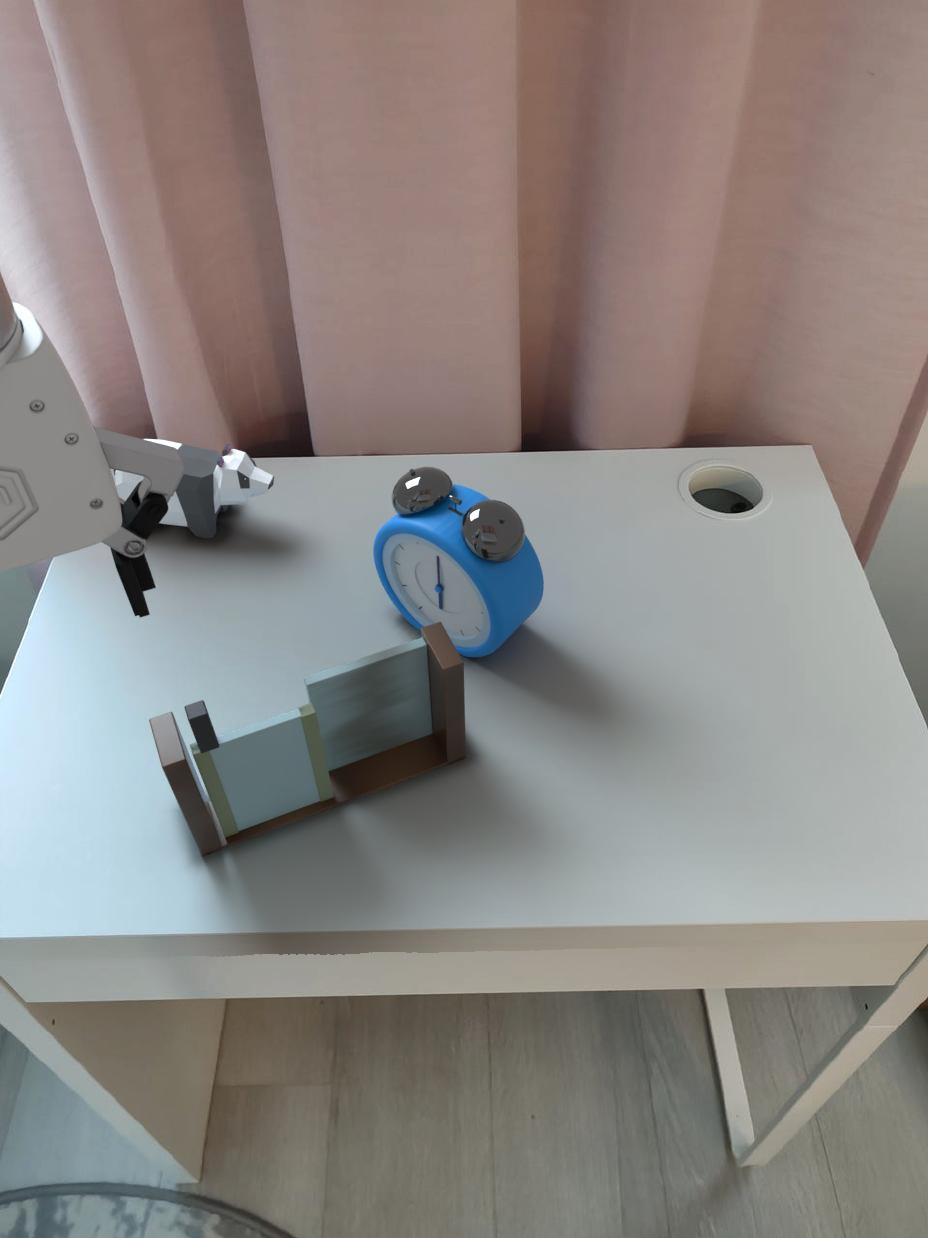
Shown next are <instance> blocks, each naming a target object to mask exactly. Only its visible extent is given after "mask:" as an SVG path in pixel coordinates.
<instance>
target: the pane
mask: <svg viewBox="0 0 928 1238" xmlns="http://www.w3.org/2000/svg"><path fill="white" fill-rule="evenodd" d="M184 711H185V714H186V718H187V722H188V724H189V726H190V729H191V732H192V734H193V737H194V739H195V742H191V743H190V744H189V748H190V752H191V755H192V757H193V759H194V762H195V765H196V768H197V770H198V773H199V775H200V777H201V780H202V783H203V785H204V787H205V790H206V792H207V795H208V797H209V801H210V800H211V803H212V805H213V808H214V810H215V813H216V815H217V818H218V820H219V823H220V825H221V828H222V830H223V833H224V836H225V837H228V836H231V835H234V834H236V833H239V831H241V830H243V829H246V828H249V827H252V826H254V825H257V824H260V823H262V822H265V821H268V820H270V819H273V818H276V817H278V816H281V815H284V814H287V813H289V812H292V811H295V810H297V809H300V808H303V807H305V806H308V805H311V804H313V803H316V802H319V801H321V802H322V801H325V800H328V799H330V798H333V797H334V794H333V790H332V785H331V781H330V776H329V771H328V767H327V762H326V757H325V753H324V748H323V743H322V739H321V734H320V729H319V725H318V720H317V715H316V712H315V709H314V707H313V704H312V703H309V702H308V703H306V704H303V705H301V706H300V705H299V706H297V708H295V709H293V710H289V711H287V712H284V713H281V714H278V715H275V716H272V717H270V718H266V719H263V720H261V721H258V722H254V723H252V724H249V725H245V726H243V727H240V728H238V729H235V730H231V731H228V732H226V733H222V734H220V735H217V734H216V731H215V728H214V726H213V722H212V720H211V717H210V714H209V712H208V709H207V706H206V703H205V701H204V700H203V699H201V700H199V701H195V702H193V703H190V704H187V705H184Z"/></svg>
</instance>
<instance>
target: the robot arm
mask: <svg viewBox="0 0 928 1238" xmlns="http://www.w3.org/2000/svg"><path fill="white" fill-rule="evenodd" d="M144 439H145V438H139V437H135V436H132V435H128V434H124V433H120V432H115V431H112V430H108V429H104V428H100V427H97V426H94V424H93V421H92V418H91V417H90V414H89V411H88V409H87V407H86V405H85V403H84V401H83V399H82V396H81V395H80V392H79V390H78V388H77V386H76V384H75V382H74V380H73V378H72V376H71V374H70V372H69V371H68V369H67V367H66V365H65V362H64V361H63V359H62V358H61V356H60V354H59V352H58V351H57V349H56V347H55V345H54V344H53V342H52V340H51V339H50V337H49V336H48V334H47V332H46V331H45V329H44V328H43V326H42V324H40V321H38V319H37V318H36V316H35V315H34V314H33V312H32V311H31V310H30V309H29V308H27V307H26V306H24V305H22V304H21V303H18V302H13V300H12V298H11V296H10V293H9V291H8V287H7V285H6V282H5V281H4V277H3V275H2V273H1V272H0V574H1V573H4V572H7V571H11V570H14V569H19V568H21V567H24V566H28V565H32V564H36V563H39V562H42V561H46V560H50V559H52V558H56V557H60V556H63V555H67V554H71V553H74V552H77V551H80V550H83V549H86V548H90V547H93V546H95V545H97V544H101V543H102V544H104V545H106V546H107V547H108V548H110V549H109V550H110V552H111V555H112V559H113V562H114V566H115V570H116V571H117V574H118V577H119V579H120V582H121V585H122V587H123V590H124V592H125V595H126V597H127V599H128V603H129V605H130V607H131V609H132V613H133V615H134V617H137V616H138V618H140V619H141V618H144V617H147V616H150V615H151V614H150V610H149V606H148V604H147V601H146V596H145V593H144V592H147V591H150V590H154V589H157V588H156V583H155V580H154V577H153V574H152V571H151V567H150V565H149V563H148V559H147V556H146V554H145V553H146V552H147V550H148V544H147V540H148V539H149V538H150V536H151V535H152V533H153V532H154V531H155V529H156V528H157V527H158V525H159V524H161V523H160V521H161V520H162V519H163V517H164V516H165V514H166V513H167V511H168V502H169V500H170V498H171V496H172V497H173V495H174V493H175V491H176V489H177V487H178V485H179V483H180V481H181V479H182V477H183V475H184V473H185V466H184V464H183V461H182V458H181V456H180V453H179V451H178V450H177V449H176V448H174V447H171V446H167V445H163V444H159V443H155V442H152V441H148V440H144ZM114 469H115V470H119V471H123V472H128V473H132V474H136V475H140V476H143V477H144V479H143V480H142V481H140V482H139V483H138V484H137V486H136V487H135V488H134V490H133V491H132V493H131V494H130V495H129V497H128V498H127V499H126V501H125V500H123V499H121V498H120V497H119V496H118V492H117V489H116V485H115V478H114V475H113V473H112V470H114Z"/></svg>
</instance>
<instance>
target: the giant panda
mask: <svg viewBox="0 0 928 1238" xmlns="http://www.w3.org/2000/svg"><path fill="white" fill-rule="evenodd" d="M143 439H144V440H148V441H152V442H155V443H159V444H163V445H167V446H171V447H174V448H176V449H177V450H178V451H179V453H180V456H181V458H182V461H183V464H184V466H185V473H184V475H183V477H182V479H181V481H180V483H179V485H178V487H177V489H176V491H175V493H174V495H173V497H172V496H171V498H170V500H169V502H168V511H167V513H166V514H165V516H164V517H163V519H162V520H161V521H160V523H159V524H163V525H170V526H178V527H180V526H181V527H187V528H188V529H189V530H190V532H191V533H192V534H193V535H194V536H195V537H198V538H203V539H213V538H214V537H215V535H216V534H217V530H218V527H217V518H218V517H217V516H218V514H219V513H226V511H227V510H229V507H230V505H231V506H232V505H244V504H245V503H246V502H247V501H248V499H250V498H254V497H257V496H261V495H264V494H266V493H268V492H269V490H270V489H271V488H272V487H273V486H274V482H275V476H274V475H273V474H271V473H268V472H267V471H265V470H264V469H261V468H259V467H258V465H257V463H256V462H255V460H254V459H253V458H252V457H251V456H250V455H249V454H248V453H247V452H245V451H242V450H240V449H239V450H238V449H236V448H231V443H226V444H225V445H224V447H223V448H222V453H221V454H220V453H219V452H218V450H217V449H208V448H203V447H199V446H193V445H189V444H185V443H180V442H176V441H175V442H174V441H171V440H166V439H158V438H157V439H155V438H154V439H153V438H143ZM113 476H114V482H115V485H116V489H117V492H118V496H119V497H120V498H121V499H123V500H125V501H126V499H127V498H128V497H129V495H130V494H131V493H132V491H133V490H134V488H135V487H136V486H137V484H138V483H139V482H140V481H142V480H143V479H144V477H143V476H140V475H136V474H132V473H128V472H123V471H119V470H115V469H113Z"/></svg>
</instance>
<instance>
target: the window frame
mask: <svg viewBox="0 0 928 1238" xmlns="http://www.w3.org/2000/svg"><path fill="white" fill-rule="evenodd" d="M303 682H304V687H305V691H306V695H307V700H308V704H309V703H312V704H313V707H314V709H315V712H316V715H317V720H318V725H319V729H320V734H321V739H322V743H323V748H324V753H325V757H326V762H327V767H328V771H329V776H330V781H331V785H332V790H333V794H334V797H333V798H330V799H328V800H325V801H322V802H321V801H319V802H316V803H313V804H311V805H308V806H305V807H303V808H300V809H297V810H295V811H292V812H289V813H287V814H284V815H281V816H278V817H276V818H273V819H270V820H268V821H265V822H262V823H260V824H257V825H254V826H252V827H249V828H246V829H243V830H241V831H239V833H236V834H234V835H231V836H228V837H225V836H224V833H223V830H222V828H221V825H220V823H219V820H218V818H217V815H216V813H215V810H214V808H213V805H212V803H211V800H210V799H209V800H208V797H207V795H206V791H205V790H204V788H203V785H202V783H201V780H200V777H199V775H198V772H197V770H196V768H195V765H194V762H193V760H192V758H191V755H190V753H189V751H188V747H187V745H186V742H185V740H184V737H183V735H182V732H181V730H180V727H179V725H178V723H177V719H176V717H175V715H174V712H173V711H169V712H167V713H163V714H159V715H157V716H154V717H151V718H149V719H148V722H149V726H150V729H151V734H152V737H153V740H154V743H155V747H156V751H157V755H158V759H159V762H160V766H161V769H162V771H163V774H164V776H165V778H166V780H167V783H168V784H169V787H170V790H171V791H172V794H173V795H174V798H175V800H176V802H177V805H178V808H179V809H180V811H181V813H182V817H183V818H184V820H185V822H186V825H187V827H188V829H189V831H190V834H191V836H192V838H193V841H194V843H195V845H196V847H197V849H198V852H199V854H200V856H201V858H203V857H206V856H209V855H211V854H214V853H216V852H219V851H221V850H225V849H227V848H230V847H233V846H236V845H238V844H240V843H243V842H247V841H248V840H251V839H253V838H257V837H259V836H262V835H265V834H268V833H271V832H273V831H276V830H278V829H281V828H283V827H286V826H289V825H291V824H295V823H297V822H299V821H303V820H304V819H308V818H309V817H312V816H313V817H314V816H315V815H318V814H320V813H323V812H326V811H329V810H331V809H334V808H337V807H339V806H342V805H345V804H348V803H351V802H353V801H355V800H358V799H361V798H364V797H366V796H369V795H372V794H374V793H376V792H379V791H382V790H385V789H387V788H390V787H392V786H396V785H398V784H401V783H404V782H406V781H409V780H411V779H414V778H417V777H420V776H422V775H425V774H427V773H430V772H433V771H435V770H439V769H441V768H443V767H447V766H449V765H451V764H454V763H457V762H460V761H463V760H465V759H466V758H467V742H466V701H465V662H464V660H463V659H462V657H461V655H460V654H459V653H458V652H457V650H456V648H455V646H454V644H453V643H452V641H451V639H450V637H449V635H448V634H447V632H446V630H445V628H444V626H443V625H442V623H441V622H437V623H434V624H431V625H428V626H426V627H423V628H421V631H420V637H419V638H416V639H414V640H410V641H407V642H404V643H401V644H398V645H395V646H392V647H390V648H386V649H384V650H380V651H378V652H374V653H372V654H369V655H366V656H363V657H359V658H357V659H354V660H350V661H348V662H345V663H341V664H339V665H336V666H333V667H331V668H330V667H329V668H327V669H325V670H321V671H319V672H315V673H312V674H309V675H307V676H304V677H303Z"/></svg>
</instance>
